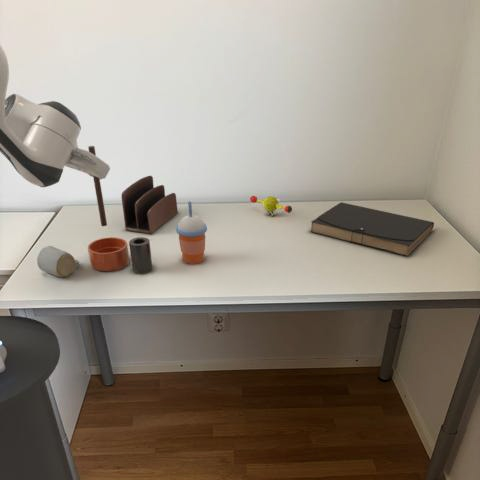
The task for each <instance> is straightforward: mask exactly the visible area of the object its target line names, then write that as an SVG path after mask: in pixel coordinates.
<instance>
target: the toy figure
mask: <svg viewBox="0 0 480 480" xmlns="http://www.w3.org/2000/svg"><path fill="white" fill-rule="evenodd" d="M249 201H250V202H251V203H256V202H258V203H259V204H263V208H264V210H265V211H267V214H266V215H267V216H271V217H274V216H275V213H274V212H275V211H276V210H278V209H280V210H283V209H284V212H286V213H288V214H289V213H291V212H292V211H293V207H292V206H291V205H286V206H283V205H280V202H281V199H279V198H276V197H274V196H268V197H266V198H265V199H264V200H263V199H258V197H257V196H256V195H252V196H251V197H250V199H249Z"/></svg>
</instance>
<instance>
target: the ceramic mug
mask: <svg viewBox="0 0 480 480" xmlns="http://www.w3.org/2000/svg"><path fill="white" fill-rule="evenodd" d="M36 262H37V266H38V267H37V268H39V270H40V271H42V272H44V273H47V274H50V275H54V276H56V277H59V278H66V277H68V276H70V275H71V274H73V272H74V270H75V268H79V267H80V261H79V260H78V259H75V257H74V256H73V255H72V254H71V253H69V252H68V251H66V250H63V249H61V248H57V247H55V246H52V245H47V246H43V247H42V248H41V249H40V251H39V252H38V254H37V257H36Z"/></svg>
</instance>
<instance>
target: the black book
mask: <svg viewBox="0 0 480 480" xmlns="http://www.w3.org/2000/svg"><path fill="white" fill-rule="evenodd" d="M310 223H311V224H310V233H313V234H318V235H321V236H325V237H330V238H333V239H337V240H341V241H344V242H349V243H351V244H352V243H353V244H357V245H361V246H364V247H367V248H368V247H369V248H373V249H376V250H381V251H384V252H388V253H393V254H397V255H401V256H405V257H409V255H410V254H411V253H412V252H413V251H414V250H415V249H417V247H418V246H419V245H420V244H421V243H422V242H423V241H424V240H425V239H426V238H427V237H428V236H429V235H430V234H431V233H432V231H433V229H434V226H435V222H434V221H429V220H425V219H422V218H416V217H412V216H406V215H403V214H397V213H394V212H393V213H392V212H389V211H384V210H379V209H374V208H370V207H364V206H360V205H356V204H351V203H347V202H343V201H342V202H341V201H340V202H339V203H338V204H336V205H333V206H332V207H331V208H330V209H328V210H326V211H324V212H323V213H321V214H320V215H318V216H317V217H316V218H315V219H313V220H311V221H310Z"/></svg>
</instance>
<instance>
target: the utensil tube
mask: <svg viewBox="0 0 480 480" xmlns="http://www.w3.org/2000/svg"><path fill="white" fill-rule="evenodd" d="M128 245H129V246H128V247H129V253H130V259H131V267H132V271H133V273H135V274H137V275H146V274H149V273H151V272H153V270H154V269H153V267H154V266H153V257H152V250H151V240H150V239H149V238H148V237H145V236H139V237H137V236H136V237H134V238H131V239H130V240H129V241H128Z"/></svg>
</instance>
